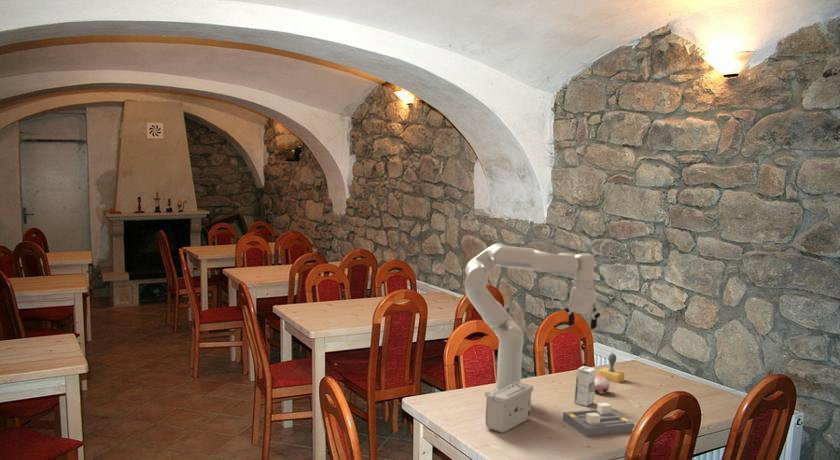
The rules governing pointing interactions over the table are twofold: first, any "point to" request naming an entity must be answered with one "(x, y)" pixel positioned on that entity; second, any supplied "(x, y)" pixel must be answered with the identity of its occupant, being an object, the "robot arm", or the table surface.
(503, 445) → the table surface
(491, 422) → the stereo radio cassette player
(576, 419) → the switch panel
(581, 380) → the syrup box
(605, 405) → the back tab
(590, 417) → the front tab
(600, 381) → the apple
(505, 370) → the robot arm
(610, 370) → the rubber stamp
